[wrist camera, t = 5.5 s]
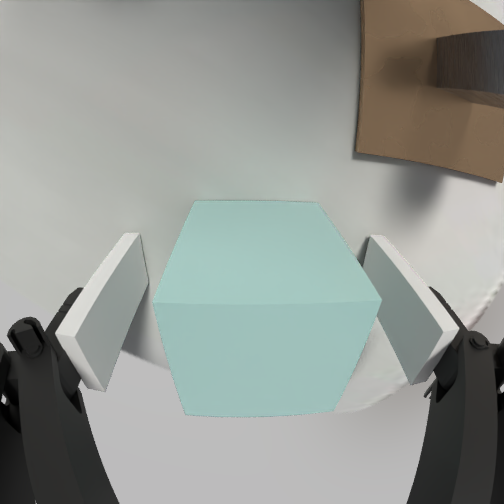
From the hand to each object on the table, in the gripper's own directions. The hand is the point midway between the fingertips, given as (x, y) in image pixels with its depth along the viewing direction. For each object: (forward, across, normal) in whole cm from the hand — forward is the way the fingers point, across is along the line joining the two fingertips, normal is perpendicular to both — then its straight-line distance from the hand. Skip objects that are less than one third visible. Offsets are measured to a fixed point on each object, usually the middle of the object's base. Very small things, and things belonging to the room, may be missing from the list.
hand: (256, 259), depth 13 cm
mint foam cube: (0, 0, 0) cm, 0 cm away
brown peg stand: (0, +9, +10) cm, 14 cm away
